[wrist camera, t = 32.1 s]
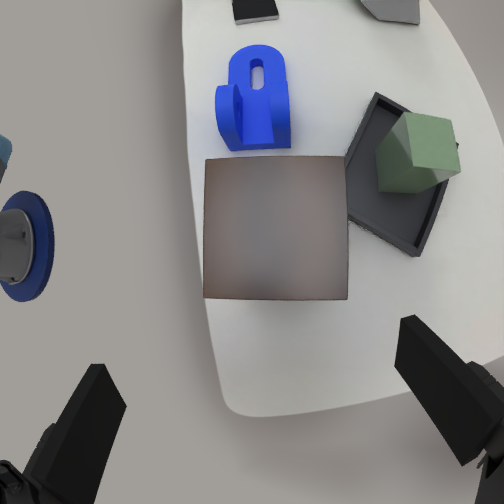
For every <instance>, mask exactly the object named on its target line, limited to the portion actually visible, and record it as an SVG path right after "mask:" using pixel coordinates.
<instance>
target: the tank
mask: <svg viewBox="0 0 504 504" xmlns="http://www.w3.org/2000/svg"><path fill="white" fill-rule="evenodd" d="M360 1H361V2H362V4H363V5H364V6H365V7H366V8H367V9H368V10H369V11H370V12H371V13H372V14H373V15H374V16H375V17H376V18H377V19H378V20H387V21H398V22H406V23H414V24H420V8H419V0H360Z"/></svg>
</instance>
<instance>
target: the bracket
mask: <svg viewBox="0 0 504 504" xmlns="http://www.w3.org/2000/svg"><path fill="white" fill-rule="evenodd" d="M255 66H261V67H263V68H264V87H263V88H261V89H259V90H254V89H252V84H251V70H252V68H254V67H255ZM215 111H216V119H217V125H218V129H219V132H220V134H221V136H222V138H223V140H224V141H225V143H226V145H227V146H228V148H229V150H230V151H238V150H254V149H275V148H291V132H290V110H289V95H288V84H287V81H286V73H285V62H284V58H283V56H282V54H281V53H280V52H279V51H278V50H276V49H275V48H273V47H270V46H266V45H251V46H247V47H245V48H242V49H240V50H239V51H237V52H236V53H235V54H234V55H233V56H232V58H231V60H230V62H229V76H228V85H223V86H218V87H217V89H216V94H215Z"/></svg>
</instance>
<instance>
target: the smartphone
mask: <svg viewBox="0 0 504 504" xmlns="http://www.w3.org/2000/svg"><path fill="white" fill-rule="evenodd" d="M232 6H233V13H234V19H235V23H236V24H237V25H239V24H244V23H251V22H257V21H265V20H273V19H278V18H279V13H278V10H277V7H276V4H275V1H274V0H232Z"/></svg>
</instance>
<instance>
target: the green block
mask: <svg viewBox="0 0 504 504" xmlns="http://www.w3.org/2000/svg"><path fill="white" fill-rule="evenodd" d="M375 156H376V165H377V176H378V189H379V192H392V193H409V194H418V193H420V192H422V191H424V190H426V189H428V188H430V187H432V186H434V185H436V184H438V183H440V182H442V181H444V180H446V179H448V178H450V177H452V176H454V175H456V174H458V173H460V172H461V169H460V162H459V156H458V151H457V145H456V140H455V136H454V131H453V127H452V122H451V120H449V119H444V118H439V117H434V116H429V115H423V114H417V113H411V112H404V113H403V114H402V115H401V117H400V118H399V119H398V121H397V122H396V123H395V124H394V126H393V127H392V128H391V130H390V131H389V132H388V134H387V135H386V136H385V138H384V139H383V140H382V142H381V143H380V144H379V145H378V147H377V148H376V149H375Z"/></svg>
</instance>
